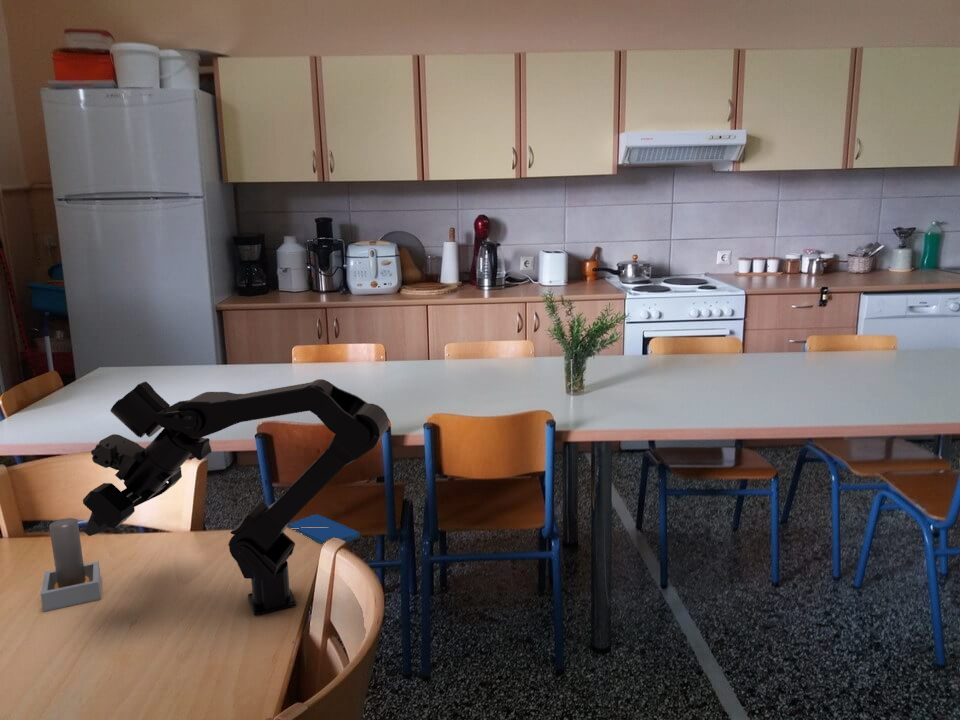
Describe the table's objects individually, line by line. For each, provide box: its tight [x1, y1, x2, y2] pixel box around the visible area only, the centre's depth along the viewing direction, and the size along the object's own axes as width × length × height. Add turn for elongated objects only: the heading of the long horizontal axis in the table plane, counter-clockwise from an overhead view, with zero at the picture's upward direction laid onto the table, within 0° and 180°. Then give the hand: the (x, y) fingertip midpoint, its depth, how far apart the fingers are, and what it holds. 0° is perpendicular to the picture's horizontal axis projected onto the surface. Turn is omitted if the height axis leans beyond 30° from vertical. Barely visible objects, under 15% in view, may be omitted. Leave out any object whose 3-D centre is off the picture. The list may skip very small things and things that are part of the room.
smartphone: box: [287, 513, 361, 546], centre depth 143 cm, size 7×1×15 cm
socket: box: [40, 560, 102, 612], centre depth 121 cm, size 8×8×3 cm
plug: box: [48, 517, 89, 589], centre depth 120 cm, size 5×5×12 cm
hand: (105, 521), depth 117 cm, fingers open, 9 cm apart
